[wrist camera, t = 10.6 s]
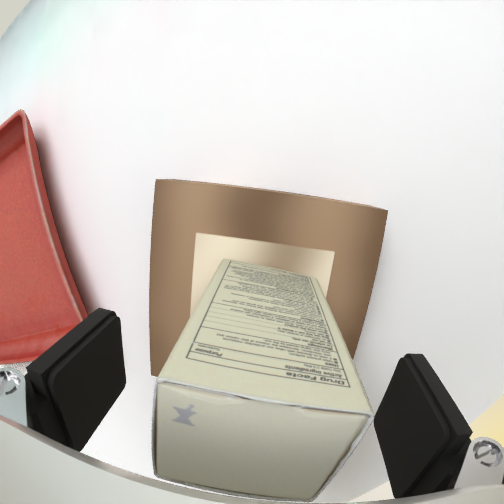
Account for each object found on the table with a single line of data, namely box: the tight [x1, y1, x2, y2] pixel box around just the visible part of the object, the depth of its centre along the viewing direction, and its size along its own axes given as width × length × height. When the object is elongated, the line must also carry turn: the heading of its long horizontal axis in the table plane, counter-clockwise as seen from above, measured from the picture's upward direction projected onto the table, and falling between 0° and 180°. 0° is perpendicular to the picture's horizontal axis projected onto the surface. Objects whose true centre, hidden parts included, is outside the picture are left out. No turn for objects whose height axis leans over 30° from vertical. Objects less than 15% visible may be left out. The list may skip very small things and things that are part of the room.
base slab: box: [149, 179, 388, 377], centre depth 18 cm, size 12×12×3 cm
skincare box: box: [152, 259, 374, 502], centre depth 11 cm, size 5×4×10 cm
